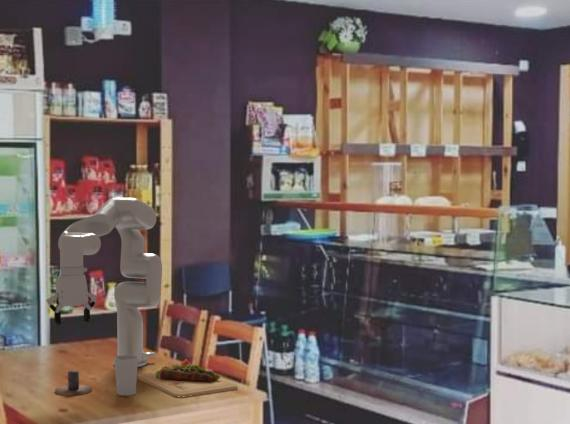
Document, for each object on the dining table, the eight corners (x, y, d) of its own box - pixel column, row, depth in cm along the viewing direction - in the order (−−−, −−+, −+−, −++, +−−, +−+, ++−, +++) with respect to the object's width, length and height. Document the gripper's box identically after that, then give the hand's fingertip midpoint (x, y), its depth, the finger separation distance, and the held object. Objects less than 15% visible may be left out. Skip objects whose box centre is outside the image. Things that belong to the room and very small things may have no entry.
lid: (84, 386, 318) (84, 365, 317) (97, 393, 307) (96, 372, 307) (50, 390, 311) (50, 370, 311) (62, 398, 301) (61, 377, 301)
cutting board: (134, 379, 329) (134, 358, 329) (193, 371, 342) (193, 351, 341) (177, 400, 300) (177, 377, 299) (240, 390, 312) (240, 368, 312)
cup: (142, 391, 309) (142, 355, 308) (131, 396, 302) (130, 360, 301) (121, 389, 312) (121, 354, 311) (109, 394, 304) (109, 359, 304)
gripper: (92, 269, 315) (93, 319, 316) (42, 272, 306) (43, 323, 307) (100, 271, 309) (101, 322, 309) (49, 274, 299) (50, 326, 300)
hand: (72, 322), depth 308 cm, fingers open, 9 cm apart
